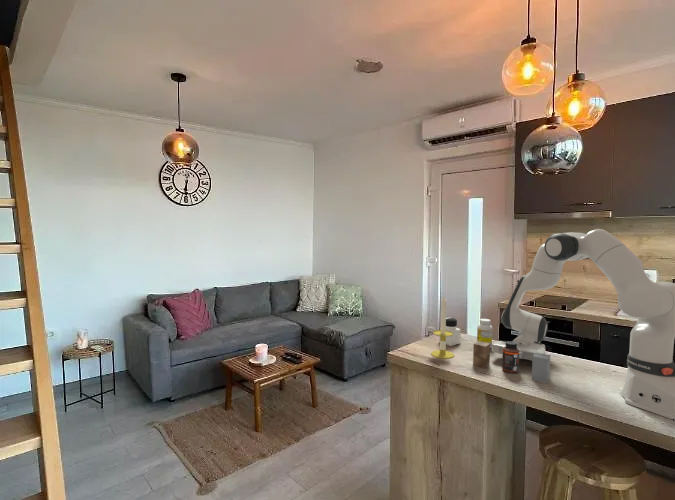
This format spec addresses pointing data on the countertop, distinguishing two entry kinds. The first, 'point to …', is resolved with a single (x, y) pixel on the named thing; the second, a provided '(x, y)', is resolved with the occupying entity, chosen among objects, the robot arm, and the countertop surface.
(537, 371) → the slate block
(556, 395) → the countertop surface
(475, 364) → the walnut block
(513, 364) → the supplement bottle
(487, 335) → the supplement bottle
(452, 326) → the medicine bottle
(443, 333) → the candle
